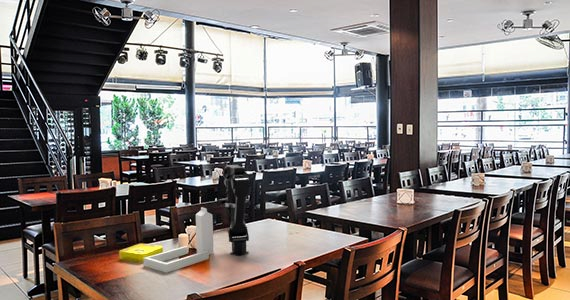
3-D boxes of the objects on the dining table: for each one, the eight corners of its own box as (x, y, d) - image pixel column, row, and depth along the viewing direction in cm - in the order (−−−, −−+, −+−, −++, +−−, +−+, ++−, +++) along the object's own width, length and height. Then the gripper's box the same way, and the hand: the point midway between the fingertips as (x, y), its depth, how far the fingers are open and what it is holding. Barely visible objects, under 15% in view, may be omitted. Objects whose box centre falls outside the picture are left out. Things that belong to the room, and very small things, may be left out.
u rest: (208, 258, 201) (208, 251, 201) (166, 272, 183) (166, 264, 183) (186, 253, 211) (185, 246, 211) (143, 265, 193) (143, 258, 193)
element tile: (164, 254, 211) (164, 245, 210) (142, 263, 197) (141, 253, 197) (140, 251, 217) (140, 242, 217) (117, 260, 204) (117, 250, 203)
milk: (202, 256, 206) (200, 209, 205) (196, 253, 211) (195, 207, 210) (213, 253, 210) (212, 207, 208) (208, 250, 215) (206, 206, 213)
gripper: (257, 189, 222) (257, 219, 223) (230, 186, 234) (231, 215, 235) (241, 191, 213) (242, 223, 214) (215, 189, 225) (216, 219, 226)
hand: (233, 220), depth 222 cm, fingers closed
